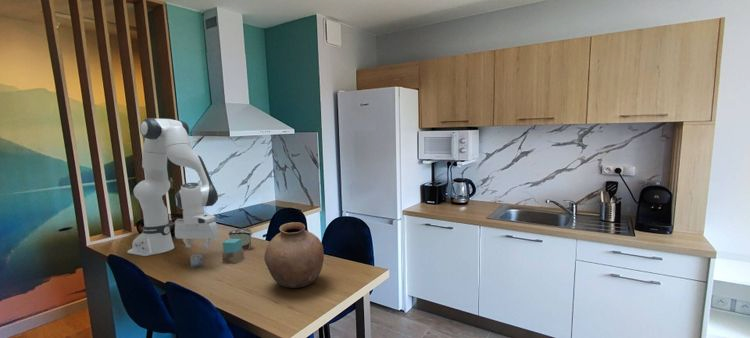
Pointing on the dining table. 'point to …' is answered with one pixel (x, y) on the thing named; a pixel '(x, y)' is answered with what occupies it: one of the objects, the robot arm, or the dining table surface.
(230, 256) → the walnut base block
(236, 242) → the teal middle block
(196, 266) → the metal cylinder
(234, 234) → the food container
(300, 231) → the pottery
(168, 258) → the dining table surface
